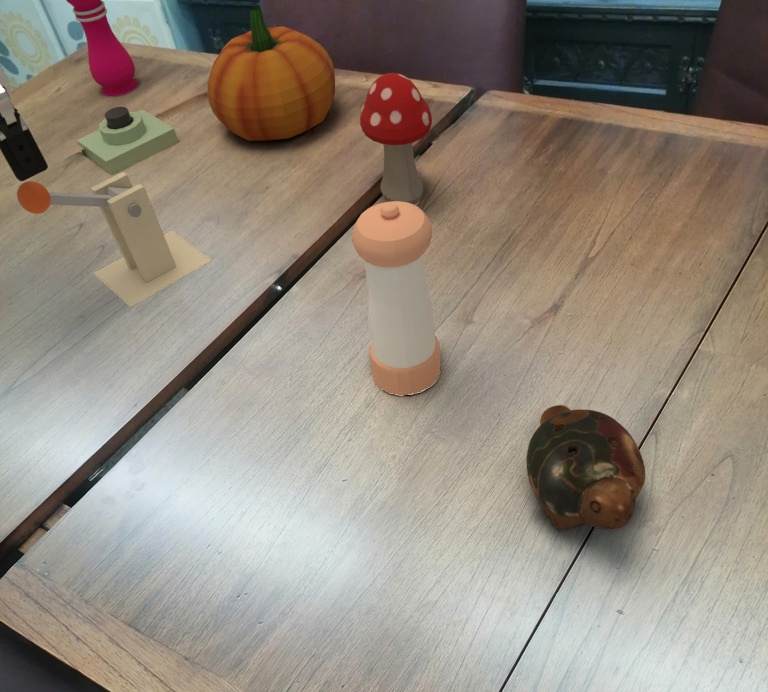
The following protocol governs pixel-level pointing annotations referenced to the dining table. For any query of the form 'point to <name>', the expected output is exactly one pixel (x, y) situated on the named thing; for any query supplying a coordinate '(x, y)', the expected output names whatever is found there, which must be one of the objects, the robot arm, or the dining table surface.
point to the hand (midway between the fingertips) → (14, 158)
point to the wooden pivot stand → (142, 245)
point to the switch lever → (59, 197)
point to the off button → (118, 118)
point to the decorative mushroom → (397, 133)
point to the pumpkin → (271, 82)
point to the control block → (127, 142)
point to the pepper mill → (104, 49)
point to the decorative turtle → (584, 469)
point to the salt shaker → (398, 296)
